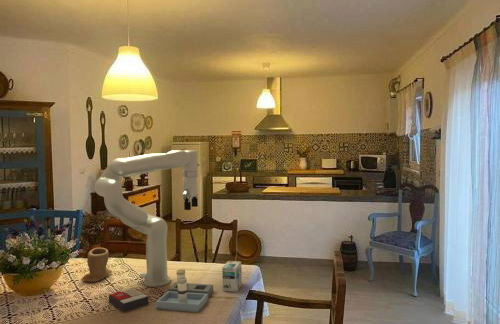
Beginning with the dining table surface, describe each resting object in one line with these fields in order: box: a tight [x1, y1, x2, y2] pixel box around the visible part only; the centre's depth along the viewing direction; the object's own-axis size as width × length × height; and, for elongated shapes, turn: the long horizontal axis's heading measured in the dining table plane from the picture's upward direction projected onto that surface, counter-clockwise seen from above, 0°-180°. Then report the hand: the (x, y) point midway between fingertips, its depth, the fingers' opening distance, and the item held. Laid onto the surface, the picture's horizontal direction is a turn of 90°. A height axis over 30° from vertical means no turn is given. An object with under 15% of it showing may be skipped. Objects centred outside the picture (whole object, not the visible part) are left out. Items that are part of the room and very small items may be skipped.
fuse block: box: [167, 281, 214, 298], centre depth 173 cm, size 18×8×3 cm, turn 77°
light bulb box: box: [221, 260, 243, 293], centre depth 179 cm, size 11×7×11 cm, turn 168°
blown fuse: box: [176, 277, 188, 303], centre depth 161 cm, size 4×4×10 cm
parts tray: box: [155, 290, 209, 313], centre depth 161 cm, size 18×11×3 cm, turn 77°
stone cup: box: [81, 247, 113, 282], centre depth 195 cm, size 15×12×15 cm
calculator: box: [108, 287, 149, 313], centre depth 165 cm, size 11×4×15 cm
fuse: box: [176, 268, 186, 288], centre depth 174 cm, size 4×4×10 cm
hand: (191, 208), depth 199 cm, fingers open, 9 cm apart
